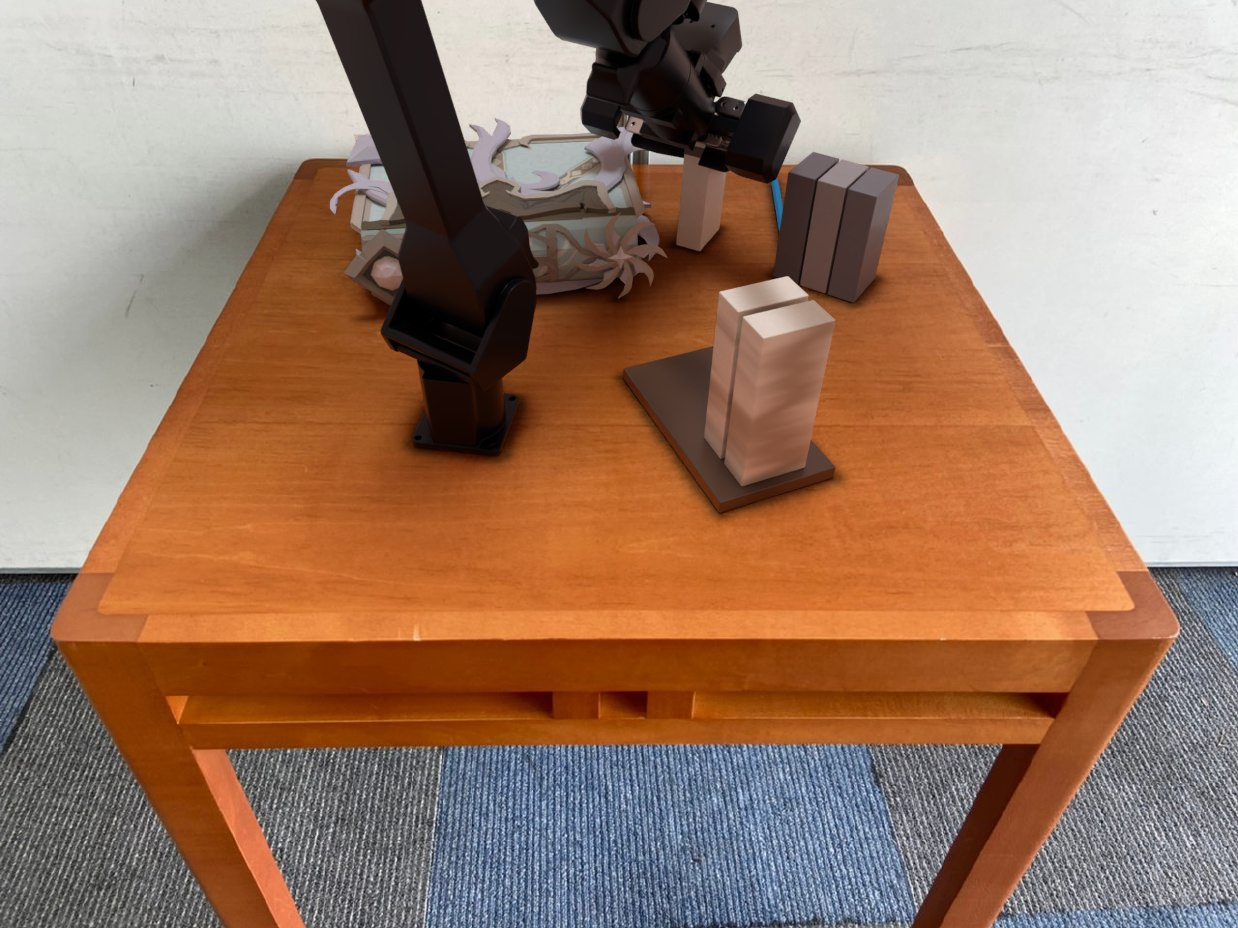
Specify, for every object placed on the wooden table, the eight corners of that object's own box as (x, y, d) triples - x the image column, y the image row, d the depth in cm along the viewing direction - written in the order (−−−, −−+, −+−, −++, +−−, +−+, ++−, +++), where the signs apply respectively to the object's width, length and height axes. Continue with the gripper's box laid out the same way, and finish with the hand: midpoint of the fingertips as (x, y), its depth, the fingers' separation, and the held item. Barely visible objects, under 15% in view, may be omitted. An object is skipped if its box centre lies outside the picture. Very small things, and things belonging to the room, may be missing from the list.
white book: (699, 252, 86) (713, 127, 77) (675, 245, 86) (686, 121, 78) (719, 229, 89) (734, 107, 81) (695, 222, 90) (708, 101, 82)
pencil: (782, 256, 85) (782, 249, 84) (769, 176, 97) (770, 170, 97) (790, 256, 85) (791, 249, 84) (776, 176, 97) (777, 170, 97)
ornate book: (345, 333, 76) (694, 300, 79) (317, 230, 70) (698, 197, 72) (363, 210, 93) (651, 185, 95) (341, 116, 86) (651, 93, 89)
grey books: (853, 303, 79) (877, 196, 73) (772, 276, 82) (788, 171, 76) (875, 279, 82) (899, 174, 76) (796, 253, 86) (813, 151, 79)
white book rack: (718, 513, 60) (739, 353, 51) (622, 378, 71) (625, 226, 62) (833, 477, 63) (871, 319, 54) (724, 353, 74) (741, 204, 65)
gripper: (809, -3, 65) (843, 100, 80) (596, -44, 73) (662, 57, 87) (747, 142, 66) (792, 218, 80) (543, 86, 74) (617, 165, 88)
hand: (714, 159), depth 84 cm, fingers closed on white book, 3 cm apart
